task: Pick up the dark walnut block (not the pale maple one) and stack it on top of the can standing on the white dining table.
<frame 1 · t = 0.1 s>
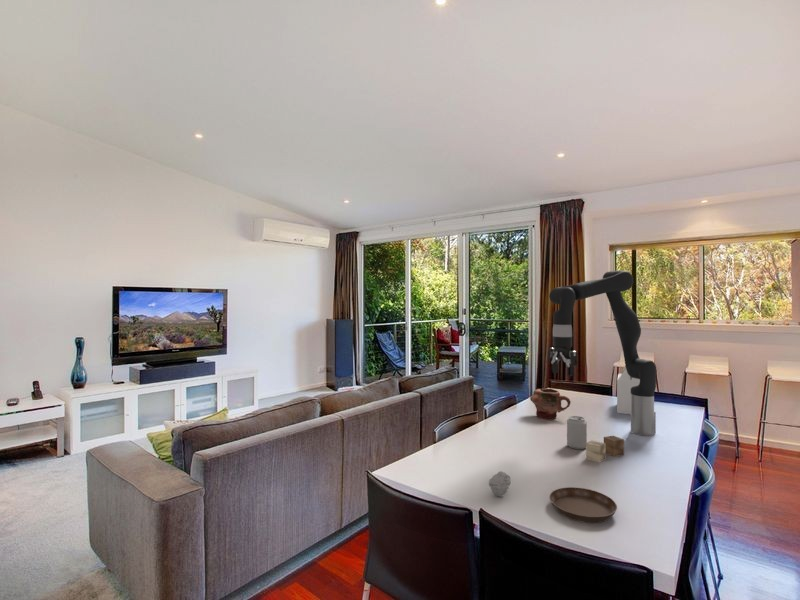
hand: (562, 374, 175), 29 cm above the table, fingers open, 8 cm apart
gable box: (631, 410, 231), on the table
plant saucer: (582, 511, 121), on the table
walnut block: (613, 453, 166), on the table
maple block: (595, 459, 160), on the table
grey lumpy rounded piece: (499, 496, 130), on the table
clay jug: (550, 417, 216), on the table
can: (576, 447, 173), on the table
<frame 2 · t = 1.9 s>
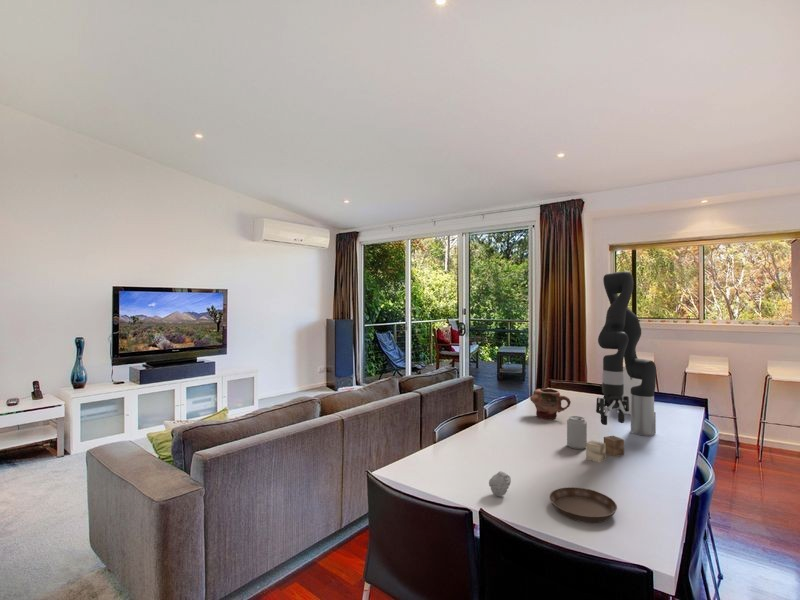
hand: (612, 423, 166), 12 cm above the table, fingers open, 8 cm apart
nothing on the table moved.
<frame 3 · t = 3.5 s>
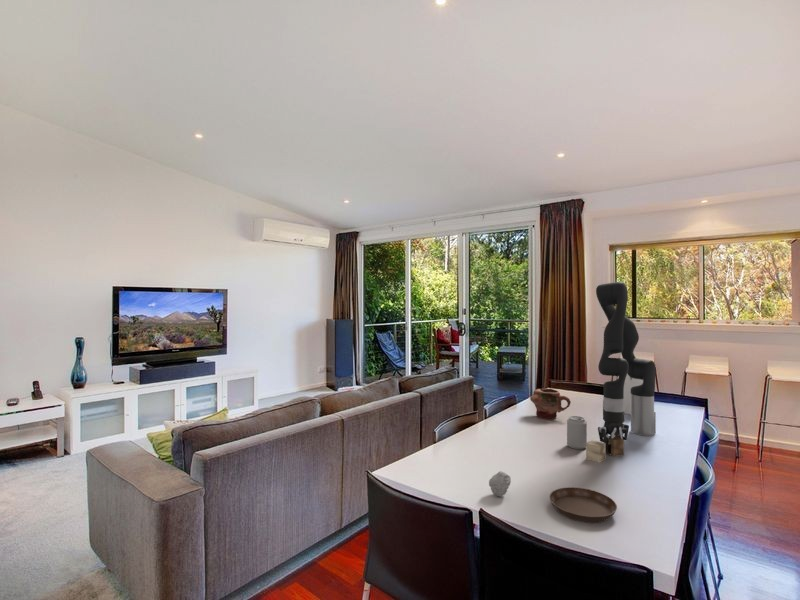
hand: (613, 452, 166), 0 cm above the table, fingers closed on walnut block, 5 cm apart
walnut block: (613, 453, 166), on the table, touching gripper
everything else where it was.
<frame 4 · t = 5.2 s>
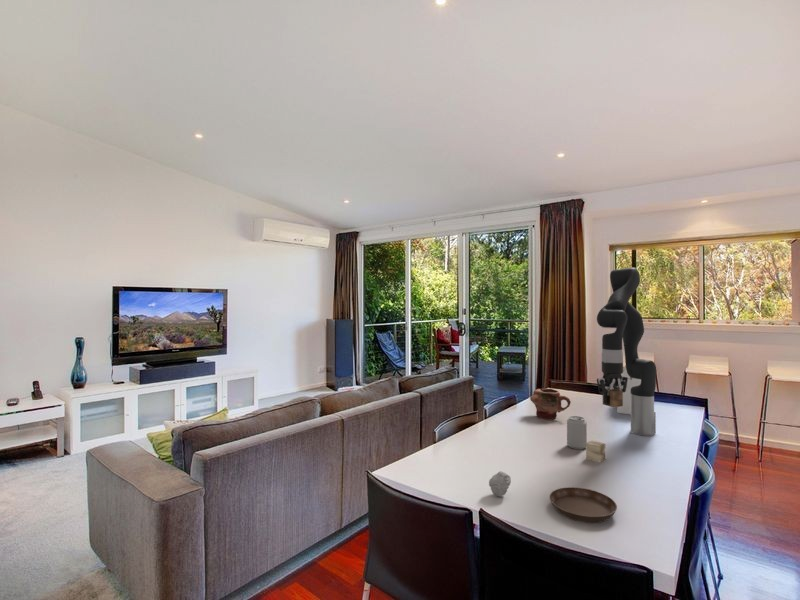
hand: (612, 403, 166), 19 cm above the table, fingers closed on walnut block, 5 cm apart
walnut block: (612, 405, 166), point 19 cm above the table, touching gripper
everything else where it was.
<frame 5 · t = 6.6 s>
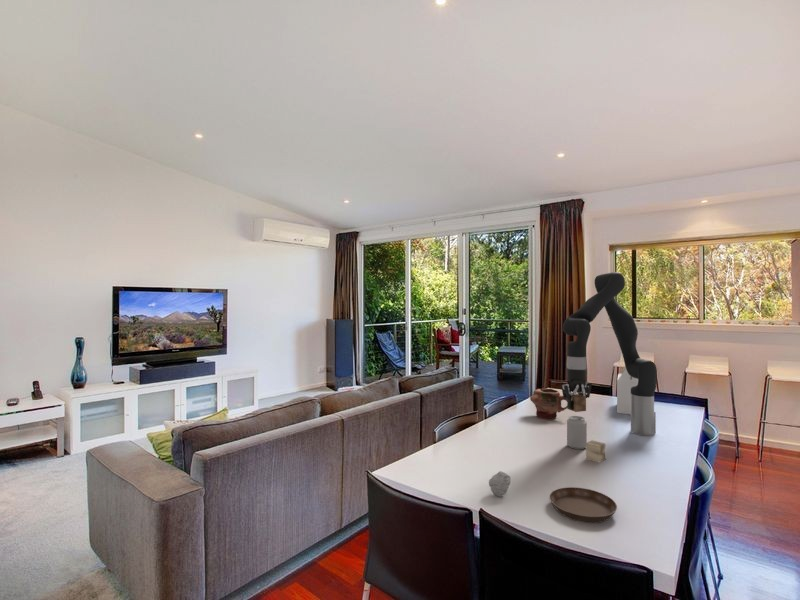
hand: (576, 408, 173), 16 cm above the table, fingers closed on walnut block, 5 cm apart
walnut block: (576, 409, 173), point 15 cm above the table, touching gripper
everything else where it was.
when the fingers open (14 cm above the table, at t = 7.3 s): walnut block drops 1 cm, resting on can.
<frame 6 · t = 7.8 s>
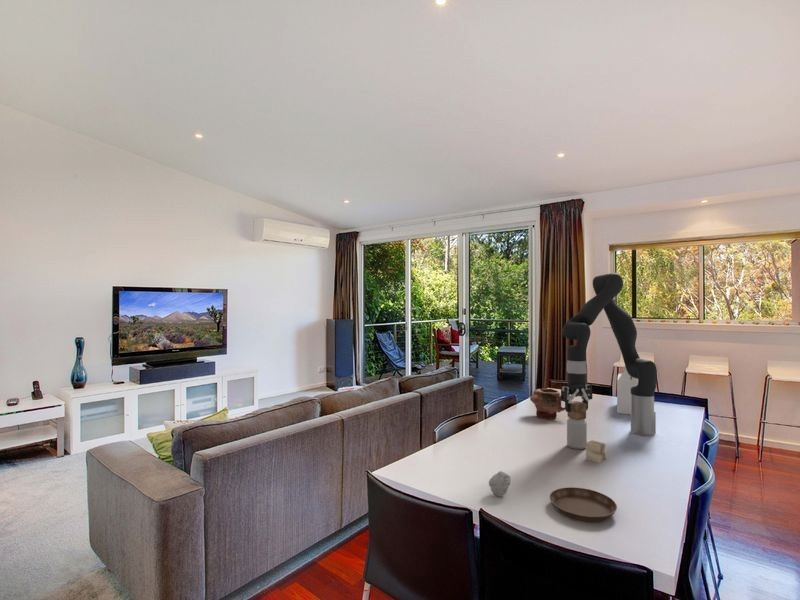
hand: (576, 411, 173), 15 cm above the table, fingers open, 8 cm apart
walnut block: (576, 417, 173), point 12 cm above the table, touching can
can: (576, 447, 173), on the table, touching walnut block
everything else where it was.
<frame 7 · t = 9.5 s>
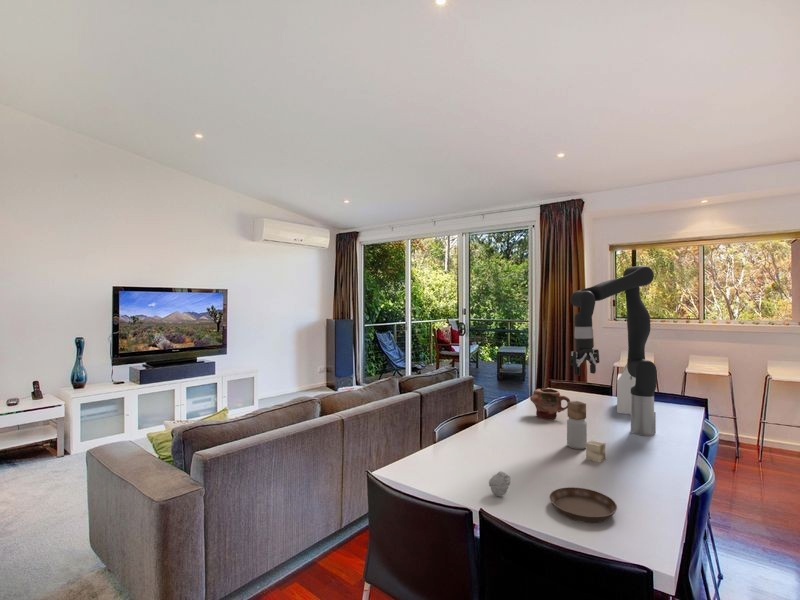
hand: (585, 374, 183), 28 cm above the table, fingers open, 8 cm apart
nothing on the table moved.
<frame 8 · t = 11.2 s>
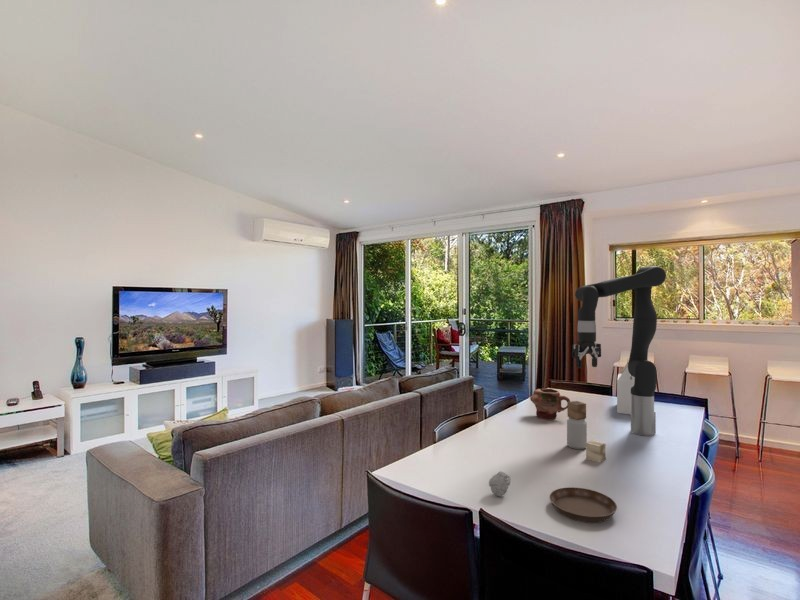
hand: (586, 367, 188), 30 cm above the table, fingers open, 8 cm apart
nothing on the table moved.
at the end: walnut block 0.1 cm off-centre on the can, point 12.2 cm above the can's base; the gripper is holding nothing; maple block moved 0.1 cm from its start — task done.
